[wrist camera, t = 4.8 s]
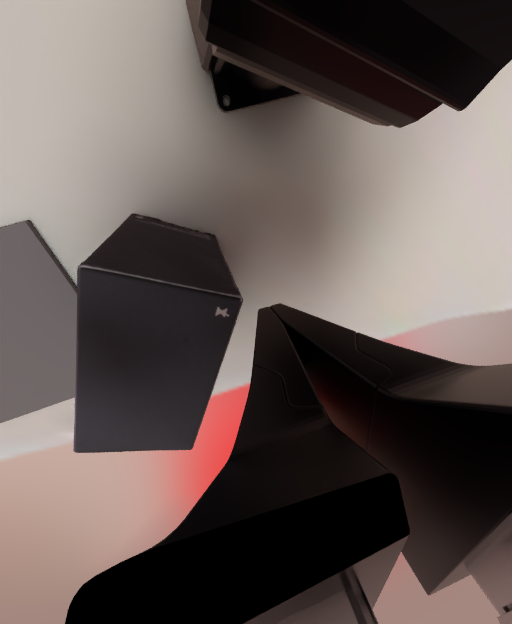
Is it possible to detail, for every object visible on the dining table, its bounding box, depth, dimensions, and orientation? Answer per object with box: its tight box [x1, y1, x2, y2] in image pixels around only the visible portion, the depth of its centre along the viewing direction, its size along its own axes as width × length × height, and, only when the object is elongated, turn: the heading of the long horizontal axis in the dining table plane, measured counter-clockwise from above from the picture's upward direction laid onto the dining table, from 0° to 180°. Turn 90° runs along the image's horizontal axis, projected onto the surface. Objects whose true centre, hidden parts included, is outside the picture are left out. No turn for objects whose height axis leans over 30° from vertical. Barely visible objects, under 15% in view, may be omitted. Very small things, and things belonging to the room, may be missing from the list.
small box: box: [74, 214, 243, 453], centre depth 16 cm, size 11×6×10 cm, turn 161°
